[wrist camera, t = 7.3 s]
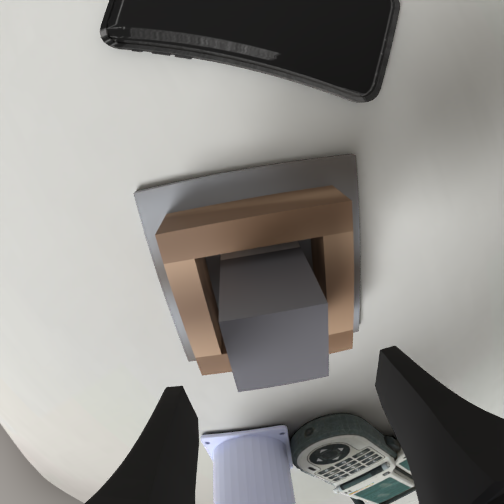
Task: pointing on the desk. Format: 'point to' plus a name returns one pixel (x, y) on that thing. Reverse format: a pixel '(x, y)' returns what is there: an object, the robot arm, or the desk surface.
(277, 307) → the connector plug
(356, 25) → the phone
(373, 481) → the communication device
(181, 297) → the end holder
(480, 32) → the desk surface
